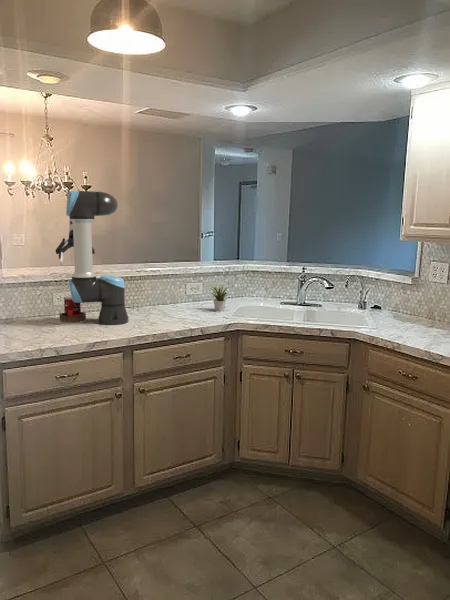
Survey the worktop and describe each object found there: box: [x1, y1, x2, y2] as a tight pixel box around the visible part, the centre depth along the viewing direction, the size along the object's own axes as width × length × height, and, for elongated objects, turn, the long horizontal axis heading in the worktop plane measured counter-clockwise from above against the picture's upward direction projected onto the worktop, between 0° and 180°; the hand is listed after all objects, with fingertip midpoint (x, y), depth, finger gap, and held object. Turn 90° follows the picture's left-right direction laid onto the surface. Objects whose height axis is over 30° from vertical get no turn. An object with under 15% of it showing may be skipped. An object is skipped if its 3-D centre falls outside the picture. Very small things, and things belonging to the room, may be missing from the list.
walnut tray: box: [59, 311, 87, 324], centre depth 259 cm, size 13×13×3 cm
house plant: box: [209, 284, 230, 312], centre depth 287 cm, size 14×14×16 cm
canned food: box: [63, 295, 82, 317], centre depth 258 cm, size 8×8×11 cm
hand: (74, 263), depth 269 cm, fingers open, 13 cm apart
